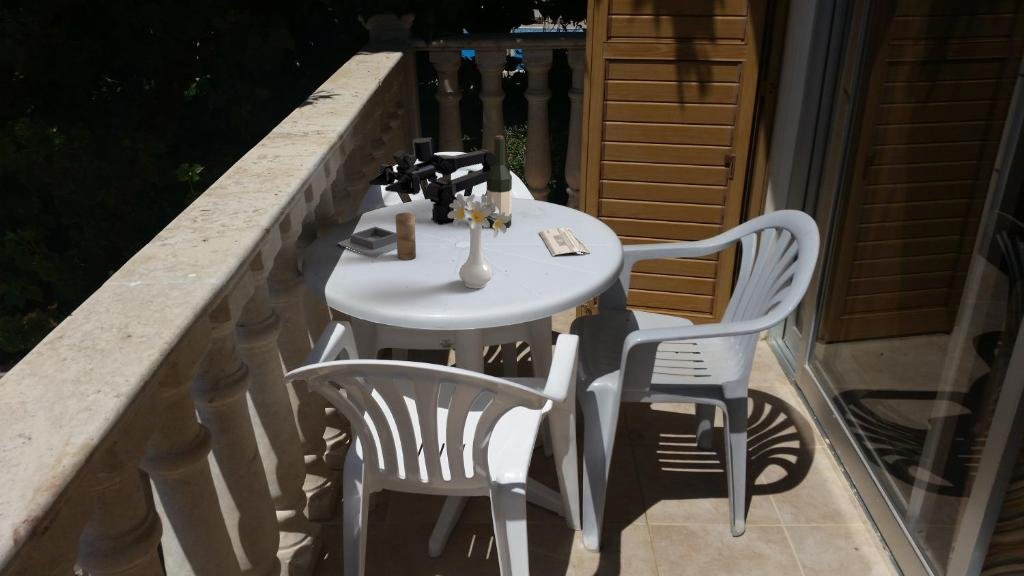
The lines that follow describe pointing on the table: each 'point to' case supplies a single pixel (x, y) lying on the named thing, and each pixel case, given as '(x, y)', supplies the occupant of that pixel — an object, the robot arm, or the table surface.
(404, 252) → the peg
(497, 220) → the flower vase
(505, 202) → the wine bottle
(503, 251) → the table surface
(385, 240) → the collar
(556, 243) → the newspaper
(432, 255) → the table surface
